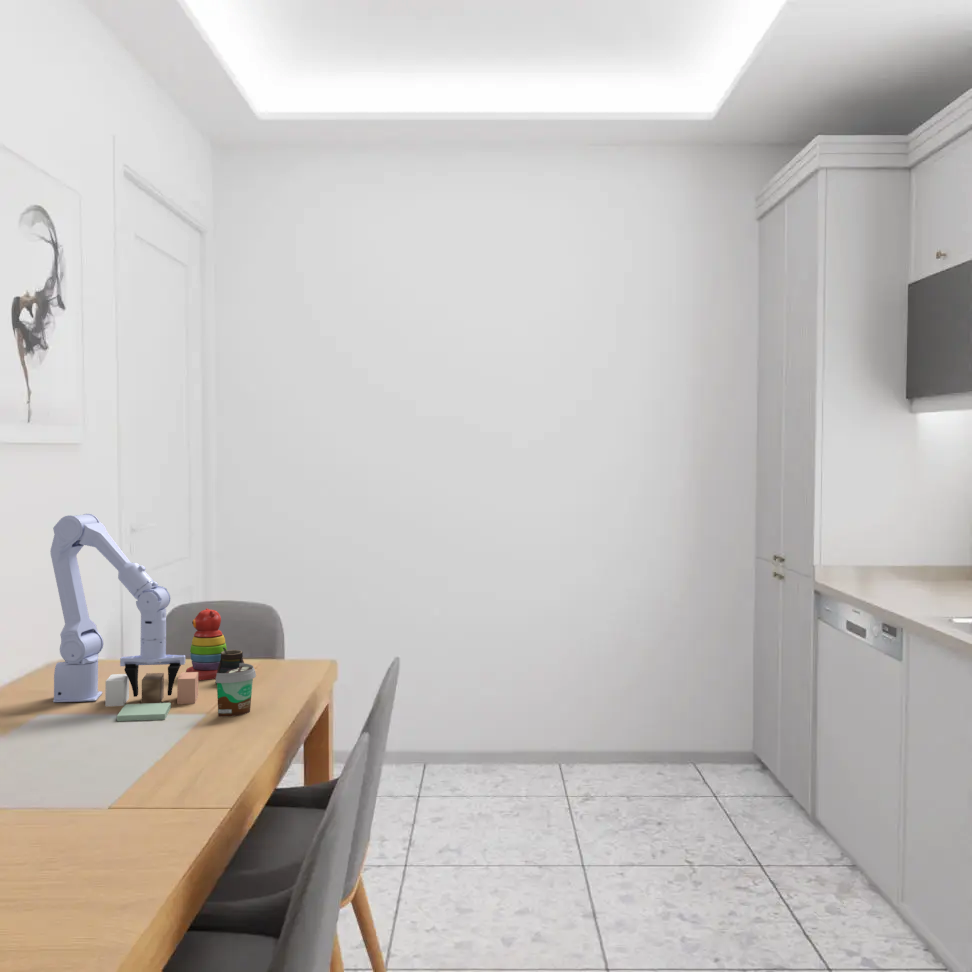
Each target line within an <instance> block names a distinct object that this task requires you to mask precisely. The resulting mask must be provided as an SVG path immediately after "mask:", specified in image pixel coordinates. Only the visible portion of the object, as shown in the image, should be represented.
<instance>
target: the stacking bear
mask: <svg viewBox="0 0 972 972" xmlns="http://www.w3.org/2000/svg"><path fill="white" fill-rule="evenodd" d="M221 623H222V617H221V614H220V613H219V612H218V611H217V610H215V609H209V608H207V607H206V608H205V609H204V610H203V609H202V610H200V611H199V612H198V614H197V615H196V616H195V617H194V618H193V620H192V626H193V628H194V629H195V630H196V631H195V632H194V634H193V637H192V639H191V644H190V648H189V649H190V651H189V652H190V654H189V655H190V660H191V665H192V666H189V667H187V668H186V670H185V672H198V682H199V681H207V680H213V679H214V680H216V676H217V669H218V666H219V663H220V660H221V652H223V651H224V649H223V648H225V649H226V650H228V649H227V643H226V638H225V636H224V634H223V632H222V630H220V628H221Z"/></svg>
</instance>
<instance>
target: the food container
mask: <svg viewBox="0 0 972 972" xmlns="http://www.w3.org/2000/svg"><path fill="white" fill-rule="evenodd" d="M254 667H255V666H254V665H252V664H250V663H246V662H244V663H240V666H239V667H238V668H236V669H232V670H229V671H227V672H226V673H217V676H216V678H215V683H216V690H217V691H216V692H217V694H216V695H217V698H216V699H217V716H218V717H220V718H221V717H223V718H224V717H225V718H228V717H230V718H231V717H237V716H238V717H239V716H243V715H247V714H248V713H250V711H251V706H252V692H253V681H254V679H255V678H256V676H257V673H256V670H255V668H254Z"/></svg>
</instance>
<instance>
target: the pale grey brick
mask: <svg viewBox="0 0 972 972" xmlns="http://www.w3.org/2000/svg"><path fill="white" fill-rule="evenodd" d="M104 691H105V693H104V694H105V695H104V696H105V700H104V701H105V702H104V703H105V704H104V705H105V707H124V705H125V704H127V702H128V701H129V699H130V681H129V678H128V676H127V675H126V673H118V674H117V673H116V674H115V673H114V674H113V673H112V674H110V675H109V677H108V678H107V679H106V680H105V690H104Z"/></svg>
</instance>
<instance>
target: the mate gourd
mask: <svg viewBox="0 0 972 972" xmlns="http://www.w3.org/2000/svg"><path fill="white" fill-rule="evenodd" d="M223 649H224V651H223V652H221V660H220V663H219V666H218V669H217V673H226V672H227V671H229V670H232V669H236V668H238V667H239V666H240V663H245V661H244V658H243V657H244V656H243V653H244V652H243V651H242V650H240V649H227V650H226V649H225V648H223Z"/></svg>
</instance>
